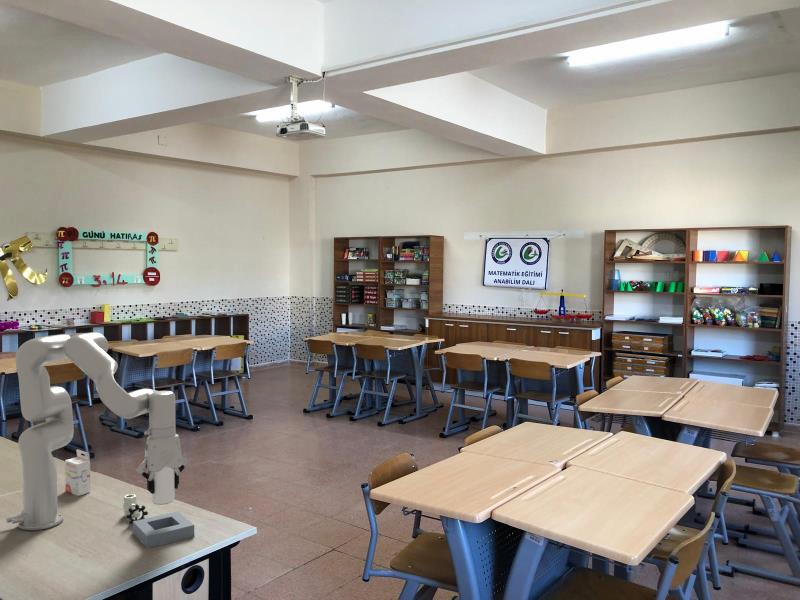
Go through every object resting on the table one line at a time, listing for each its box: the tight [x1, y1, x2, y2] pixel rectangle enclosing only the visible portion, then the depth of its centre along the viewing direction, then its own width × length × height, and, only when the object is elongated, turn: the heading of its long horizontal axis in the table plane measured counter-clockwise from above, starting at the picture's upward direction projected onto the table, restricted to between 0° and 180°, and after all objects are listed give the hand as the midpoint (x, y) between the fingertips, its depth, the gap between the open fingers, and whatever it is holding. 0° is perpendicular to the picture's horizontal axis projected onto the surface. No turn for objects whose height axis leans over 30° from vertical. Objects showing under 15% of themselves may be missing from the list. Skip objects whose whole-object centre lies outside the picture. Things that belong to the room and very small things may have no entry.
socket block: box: [132, 510, 195, 549], centre depth 200 cm, size 14×14×4 cm
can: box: [151, 467, 176, 505], centre depth 199 cm, size 6×6×12 cm
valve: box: [122, 493, 149, 525], centre depth 212 cm, size 7×7×12 cm
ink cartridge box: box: [64, 449, 91, 497], centre depth 236 cm, size 9×5×15 cm, turn 58°
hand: (163, 489), depth 199 cm, fingers closed on can, 6 cm apart
